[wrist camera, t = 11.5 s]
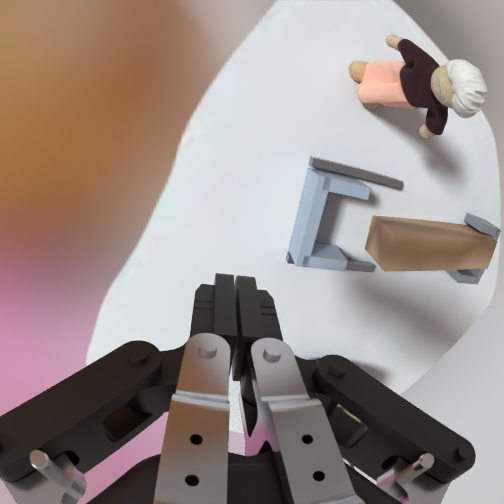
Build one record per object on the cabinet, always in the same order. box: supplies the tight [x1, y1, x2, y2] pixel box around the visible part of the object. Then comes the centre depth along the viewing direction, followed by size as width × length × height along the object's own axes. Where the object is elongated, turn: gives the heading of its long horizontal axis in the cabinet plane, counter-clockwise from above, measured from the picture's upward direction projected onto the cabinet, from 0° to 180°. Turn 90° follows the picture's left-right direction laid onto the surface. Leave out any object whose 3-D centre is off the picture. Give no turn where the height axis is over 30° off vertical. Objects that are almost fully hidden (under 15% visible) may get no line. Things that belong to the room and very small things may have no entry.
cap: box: [289, 168, 371, 271], centre depth 23 cm, size 8×4×3 cm, turn 170°
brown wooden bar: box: [365, 216, 497, 271], centre depth 25 cm, size 4×16×4 cm, turn 86°
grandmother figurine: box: [349, 34, 487, 139], centre depth 14 cm, size 8×4×13 cm, turn 36°
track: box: [286, 157, 403, 272], centre depth 25 cm, size 10×9×1 cm
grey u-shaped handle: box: [446, 213, 501, 284], centre depth 26 cm, size 8×4×3 cm, turn 170°
